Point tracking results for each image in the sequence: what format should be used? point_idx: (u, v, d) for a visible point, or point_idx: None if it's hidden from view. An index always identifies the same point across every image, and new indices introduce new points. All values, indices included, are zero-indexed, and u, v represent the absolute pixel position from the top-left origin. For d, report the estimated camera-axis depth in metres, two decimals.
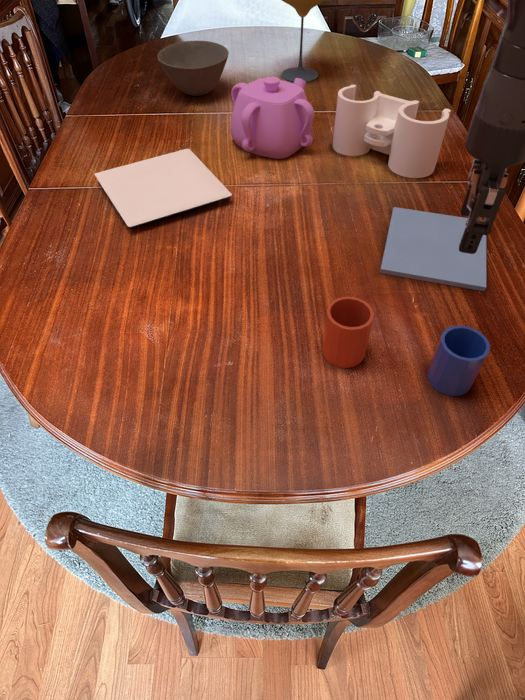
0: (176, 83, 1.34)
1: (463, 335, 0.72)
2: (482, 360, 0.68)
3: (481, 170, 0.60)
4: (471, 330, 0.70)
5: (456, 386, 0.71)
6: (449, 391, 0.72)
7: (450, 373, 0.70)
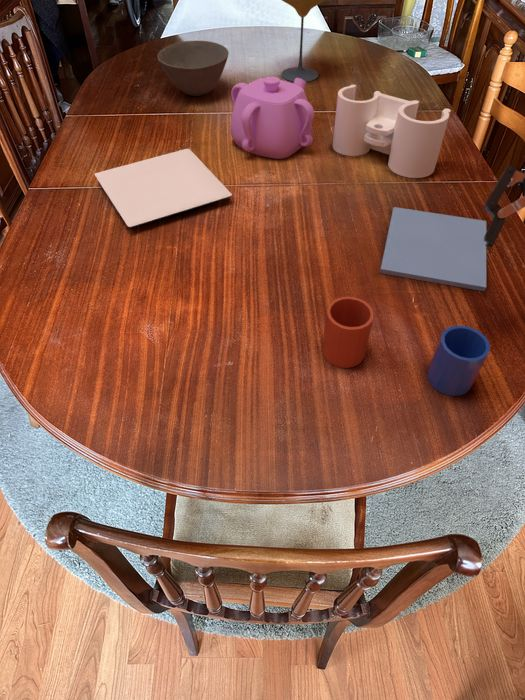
0: (176, 83, 1.34)
1: (463, 335, 0.72)
2: (482, 360, 0.68)
3: None
4: (471, 330, 0.70)
5: (456, 386, 0.71)
6: (449, 391, 0.72)
7: (450, 373, 0.70)
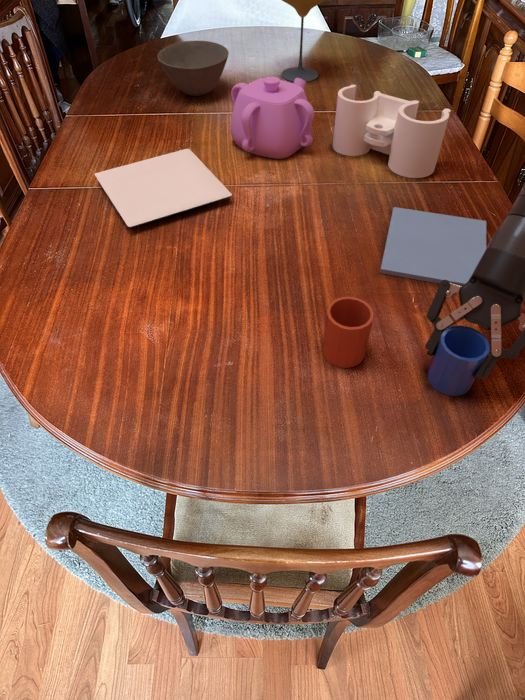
0: (176, 83, 1.34)
1: (463, 335, 0.72)
2: (482, 360, 0.68)
3: None
4: (471, 330, 0.70)
5: (456, 386, 0.71)
6: (449, 391, 0.72)
7: (450, 373, 0.70)
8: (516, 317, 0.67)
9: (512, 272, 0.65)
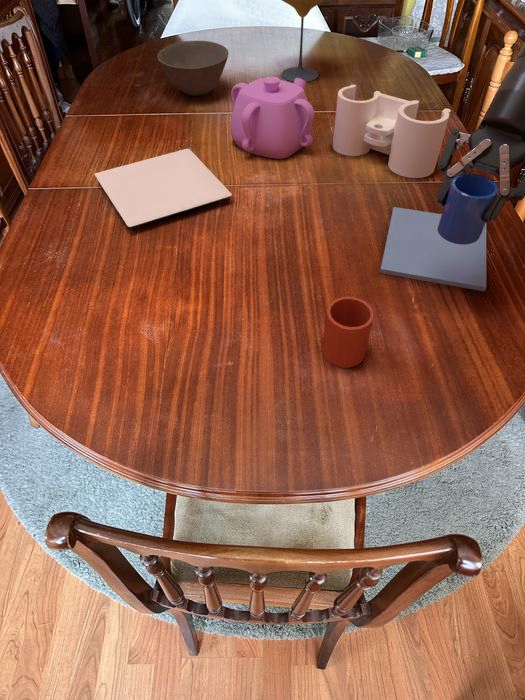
0: (176, 83, 1.34)
1: (472, 184, 0.75)
2: (491, 199, 0.71)
3: None
4: (480, 177, 0.74)
5: (465, 232, 0.74)
6: (459, 239, 0.76)
7: (460, 216, 0.73)
8: (524, 156, 0.70)
9: (520, 109, 0.68)
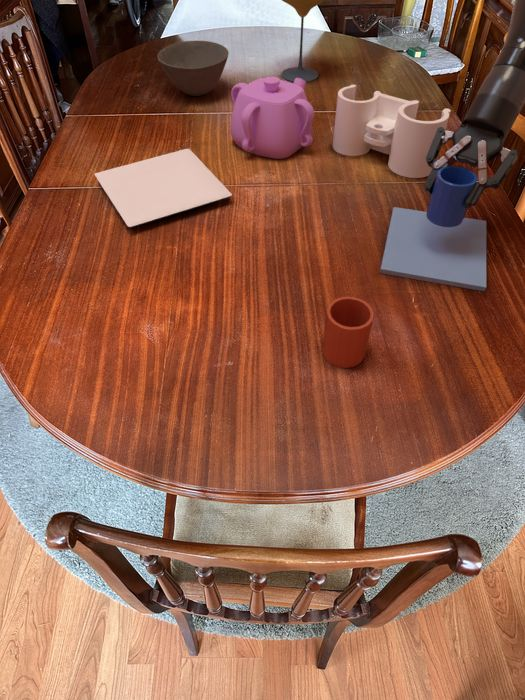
0: (176, 83, 1.34)
1: (455, 174, 0.87)
2: (471, 187, 0.83)
3: None
4: (462, 168, 0.86)
5: (450, 216, 0.86)
6: (444, 222, 0.87)
7: (445, 202, 0.85)
8: (498, 150, 0.82)
9: (495, 110, 0.80)
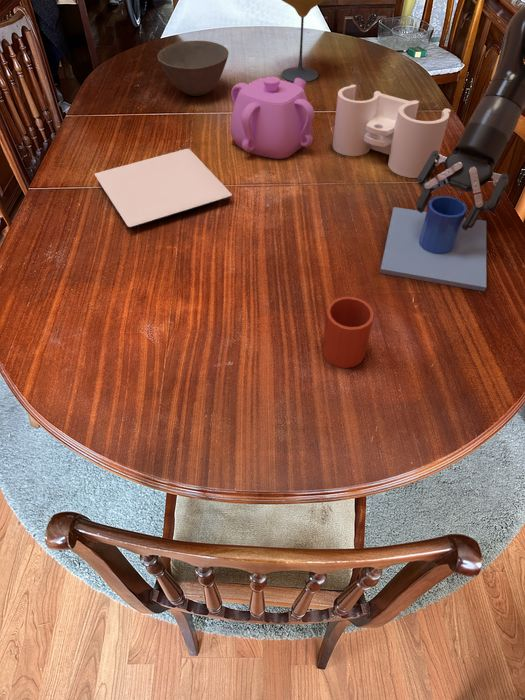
0: (176, 83, 1.34)
1: (446, 204, 0.91)
2: (460, 217, 0.87)
3: None
4: (452, 199, 0.90)
5: (441, 243, 0.91)
6: (435, 249, 0.92)
7: (436, 231, 0.89)
8: (489, 177, 0.86)
9: (485, 139, 0.84)
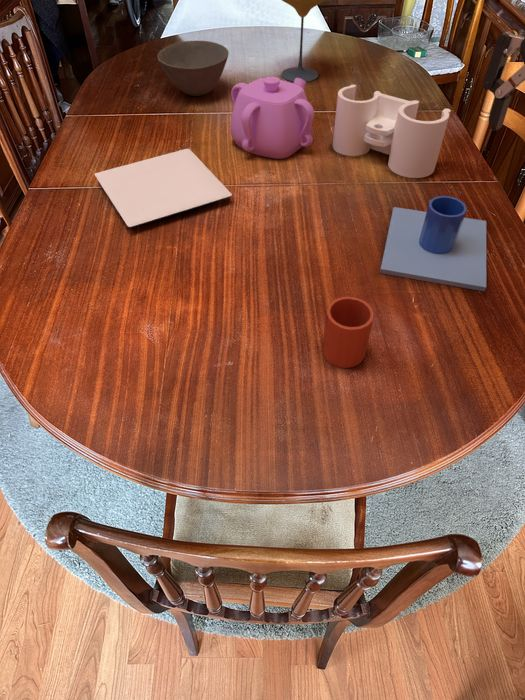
0: (176, 83, 1.34)
1: (446, 204, 0.91)
2: (460, 217, 0.87)
3: None
4: (452, 199, 0.90)
5: (441, 243, 0.91)
6: (435, 249, 0.92)
7: (436, 231, 0.89)
8: None
9: None
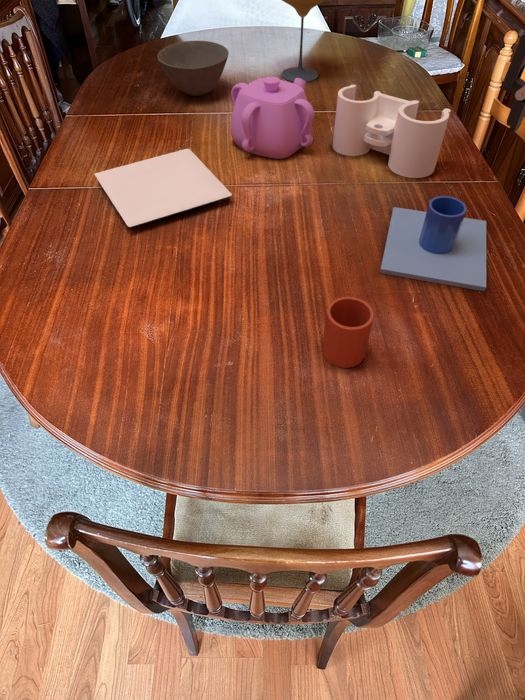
0: (176, 83, 1.34)
1: (446, 204, 0.91)
2: (460, 217, 0.87)
3: None
4: (452, 199, 0.90)
5: (441, 243, 0.91)
6: (435, 249, 0.92)
7: (436, 231, 0.89)
8: None
9: None
